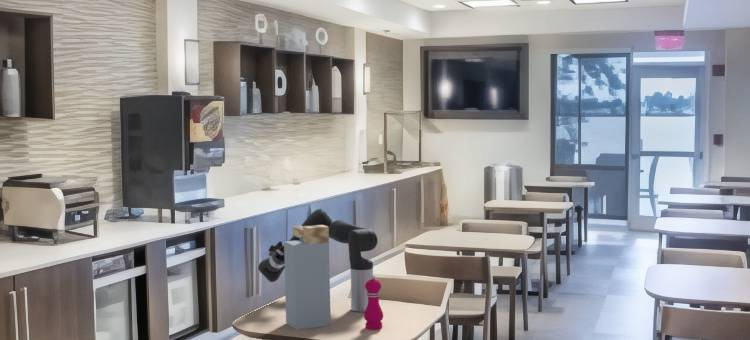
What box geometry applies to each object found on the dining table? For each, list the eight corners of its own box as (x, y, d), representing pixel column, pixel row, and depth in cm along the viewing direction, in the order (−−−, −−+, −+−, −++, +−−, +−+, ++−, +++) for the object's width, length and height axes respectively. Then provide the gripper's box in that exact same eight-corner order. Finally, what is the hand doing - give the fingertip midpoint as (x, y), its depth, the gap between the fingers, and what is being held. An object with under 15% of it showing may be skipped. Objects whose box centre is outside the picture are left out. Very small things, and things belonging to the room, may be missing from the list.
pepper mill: (381, 330, 304) (380, 277, 302) (362, 329, 305) (361, 276, 304) (385, 325, 311) (384, 273, 310) (366, 324, 312) (365, 273, 311)
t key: (305, 234, 331) (305, 219, 331) (328, 242, 310) (328, 226, 309) (287, 235, 328) (286, 220, 327) (309, 244, 306) (308, 228, 306)
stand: (319, 318, 322) (317, 235, 320) (330, 325, 312) (328, 239, 310) (286, 323, 316) (283, 238, 314) (296, 330, 306) (294, 242, 304)
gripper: (297, 263, 351) (309, 249, 337) (265, 266, 344) (276, 252, 331) (294, 247, 354) (305, 232, 340) (262, 250, 347) (272, 235, 334)
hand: (291, 242), depth 336 cm, fingers open, 8 cm apart
